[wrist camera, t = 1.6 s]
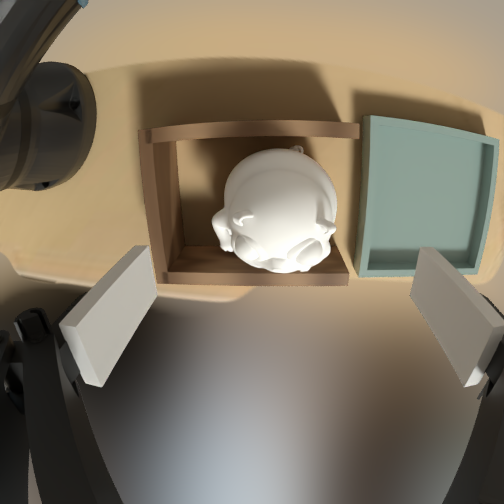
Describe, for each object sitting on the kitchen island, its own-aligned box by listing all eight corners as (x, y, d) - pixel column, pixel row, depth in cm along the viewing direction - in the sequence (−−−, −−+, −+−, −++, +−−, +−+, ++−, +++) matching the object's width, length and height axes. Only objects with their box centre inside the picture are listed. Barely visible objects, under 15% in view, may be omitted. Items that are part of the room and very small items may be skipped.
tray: (353, 266, 31) (358, 277, 29) (362, 115, 25) (370, 115, 23) (467, 264, 30) (477, 274, 28) (486, 137, 24) (499, 139, 22)
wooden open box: (175, 256, 32) (157, 283, 27) (163, 128, 27) (137, 130, 21) (335, 256, 31) (347, 285, 26) (342, 123, 26) (359, 123, 20)
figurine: (243, 128, 27) (221, 131, 16) (342, 158, 27) (386, 182, 16) (218, 225, 31) (187, 284, 20) (310, 251, 31) (327, 321, 20)
